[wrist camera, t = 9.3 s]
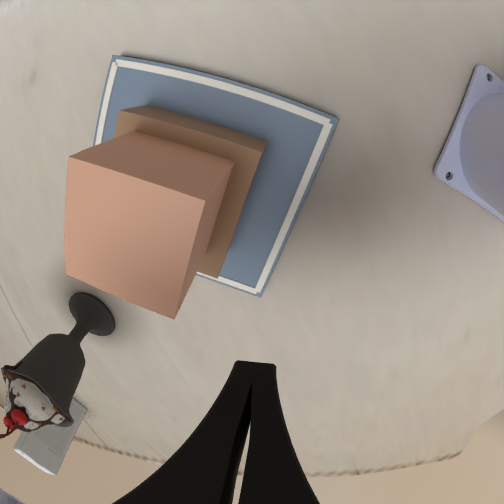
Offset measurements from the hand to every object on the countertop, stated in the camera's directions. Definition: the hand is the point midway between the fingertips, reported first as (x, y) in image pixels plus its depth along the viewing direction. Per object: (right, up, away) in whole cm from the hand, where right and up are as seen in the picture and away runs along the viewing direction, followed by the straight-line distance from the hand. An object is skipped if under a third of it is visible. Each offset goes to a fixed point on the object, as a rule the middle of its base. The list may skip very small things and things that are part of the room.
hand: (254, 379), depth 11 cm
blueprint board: (-4, +9, +7) cm, 12 cm away
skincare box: (-26, -16, +25) cm, 40 cm away
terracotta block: (-4, +7, +4) cm, 9 cm away
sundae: (-14, -1, +15) cm, 21 cm away
